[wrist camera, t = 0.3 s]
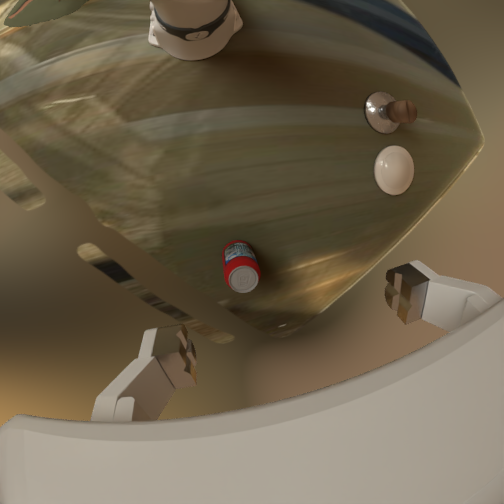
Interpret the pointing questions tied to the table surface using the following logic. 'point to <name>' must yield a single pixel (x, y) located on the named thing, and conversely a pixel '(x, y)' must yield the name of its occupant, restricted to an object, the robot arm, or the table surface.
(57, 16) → the plant
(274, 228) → the table surface
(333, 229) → the table surface
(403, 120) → the cap
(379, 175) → the saucer
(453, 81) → the table surface
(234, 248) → the beverage can
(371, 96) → the pedestal
